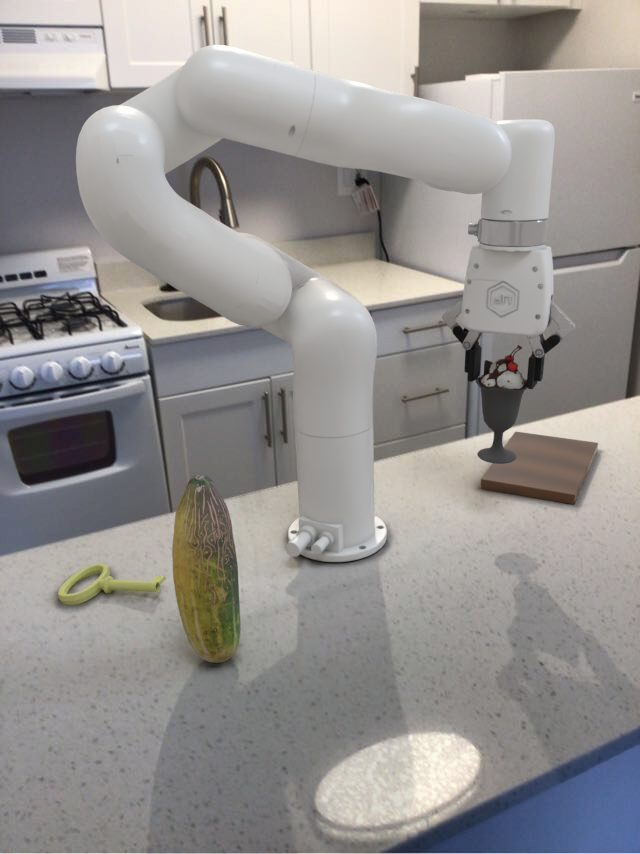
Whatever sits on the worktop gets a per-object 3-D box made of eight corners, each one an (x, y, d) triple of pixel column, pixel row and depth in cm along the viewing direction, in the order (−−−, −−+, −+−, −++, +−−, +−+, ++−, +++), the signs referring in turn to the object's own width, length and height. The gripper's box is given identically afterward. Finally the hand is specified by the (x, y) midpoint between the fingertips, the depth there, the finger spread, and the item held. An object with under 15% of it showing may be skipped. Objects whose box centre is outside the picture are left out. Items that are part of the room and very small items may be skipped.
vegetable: (174, 672, 73) (150, 485, 66) (195, 633, 79) (174, 457, 72) (234, 677, 72) (216, 488, 65) (251, 637, 78) (236, 459, 71)
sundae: (525, 468, 94) (536, 351, 88) (470, 464, 95) (477, 348, 90) (522, 448, 100) (532, 337, 94) (471, 444, 101) (478, 335, 96)
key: (163, 601, 85) (161, 585, 84) (53, 607, 85) (50, 591, 84) (173, 567, 91) (170, 552, 91) (71, 573, 91) (68, 558, 91)
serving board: (574, 504, 103) (575, 494, 102) (480, 488, 108) (480, 478, 108) (597, 451, 119) (598, 442, 118) (514, 439, 125) (515, 431, 124)
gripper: (430, 235, 88) (425, 382, 94) (585, 241, 80) (568, 400, 87) (450, 228, 94) (445, 366, 101) (596, 233, 87) (580, 382, 93)
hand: (502, 381), depth 94 cm, fingers closed on sundae, 6 cm apart
